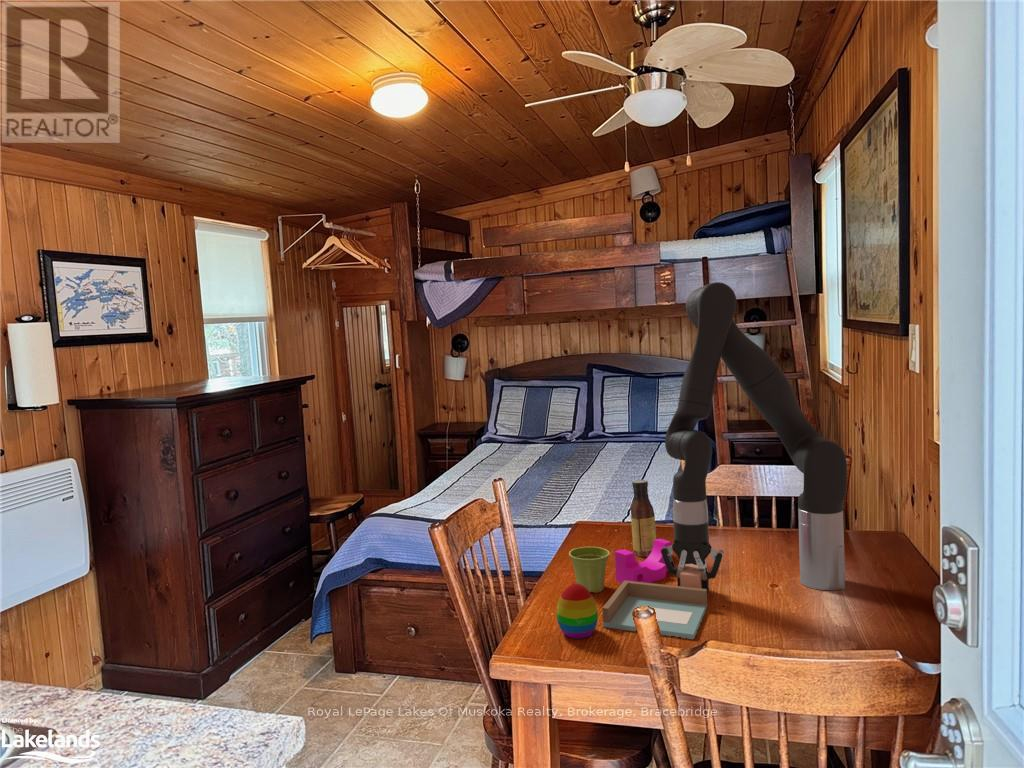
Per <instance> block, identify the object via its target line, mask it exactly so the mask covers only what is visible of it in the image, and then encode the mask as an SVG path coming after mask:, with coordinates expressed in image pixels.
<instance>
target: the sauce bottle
mask: <svg viewBox="0 0 1024 768" xmlns="http://www.w3.org/2000/svg"><path fill="white" fill-rule="evenodd" d="M631 484H632V485H631V486H632V490H633V500H632V502H631V504H630V523H631V535H632V548H633V551H634V552H633V553H634V555H635V557H636V556H637V557H640V558H648V556H649V555H650V553H651V551H652V549H653V546H654V540H656V539H657V529H656V517H655V511H654V510H655V509H654V506H653V505H652V503H651V501H650V498H649V491H648V486H649V482H648V481H647V480H646V479H634V480H632V483H631Z"/></svg>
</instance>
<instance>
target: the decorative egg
mask: <svg viewBox="0 0 1024 768" xmlns="http://www.w3.org/2000/svg"><path fill="white" fill-rule="evenodd" d="M557 601H558V602H557V605H556V606H557V607H556V619H557V625H558V627H559V628H560V630H561V632H562V633H563V635H565V636H566V637H568V638H571V639H578V640H579V639H586V638H587V637H590V636H591V635H592V634H593V633H594V631H595V630H596V627H597V625H598V624H597V623H598V618H599V617H598V616H599V613H598V606H597V603H596V600H595V599H594V597H593V595H592V592H589V591H588V589H587V588H585V587H584V586H583V585H581V584H577V582H576V583H572V584H570V585H568V586H567V587H566V588H565V589H564V590H563V591H562V593H561V594H560V596H559V598H558V600H557Z"/></svg>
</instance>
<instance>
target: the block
mask: <svg viewBox="0 0 1024 768" xmlns="http://www.w3.org/2000/svg"><path fill="white" fill-rule="evenodd" d="M701 580H702V577H701V572H700V571H699V570H698V567H697V565H694V564H686V566H685V567H684V570H682V571H681V573H680V586H681V587H691V588H700V589H702V587H701Z"/></svg>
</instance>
